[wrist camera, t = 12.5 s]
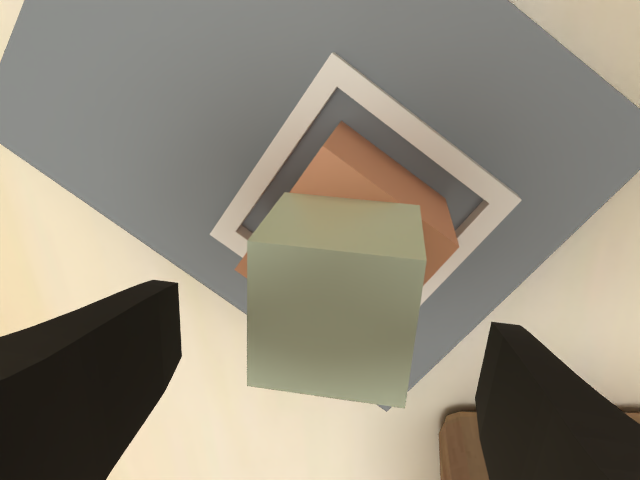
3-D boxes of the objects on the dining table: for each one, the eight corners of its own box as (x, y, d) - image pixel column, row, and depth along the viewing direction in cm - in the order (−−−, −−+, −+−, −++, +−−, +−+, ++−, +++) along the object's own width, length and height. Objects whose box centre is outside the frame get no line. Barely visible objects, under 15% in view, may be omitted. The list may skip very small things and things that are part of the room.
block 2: (419, 205, 15) (426, 260, 11) (403, 324, 16) (404, 408, 12) (284, 192, 15) (247, 240, 11) (281, 309, 16) (247, 386, 13)
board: (660, 132, 18) (686, 141, 17) (387, 397, 24) (386, 423, 23) (156, -283, 16) (128, -320, 14) (-7, 122, 22) (-40, 129, 20)
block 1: (445, 198, 19) (459, 247, 15) (367, 288, 21) (358, 355, 17) (341, 120, 19) (322, 145, 14) (270, 219, 21) (234, 269, 16)
